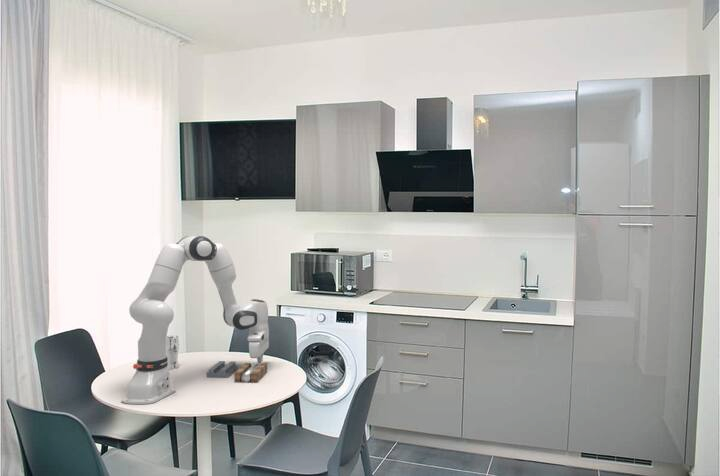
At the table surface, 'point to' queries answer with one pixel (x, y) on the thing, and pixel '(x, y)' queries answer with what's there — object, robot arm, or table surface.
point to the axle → (249, 373)
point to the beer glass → (172, 351)
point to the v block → (222, 370)
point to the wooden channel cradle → (255, 375)
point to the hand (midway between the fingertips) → (260, 362)
